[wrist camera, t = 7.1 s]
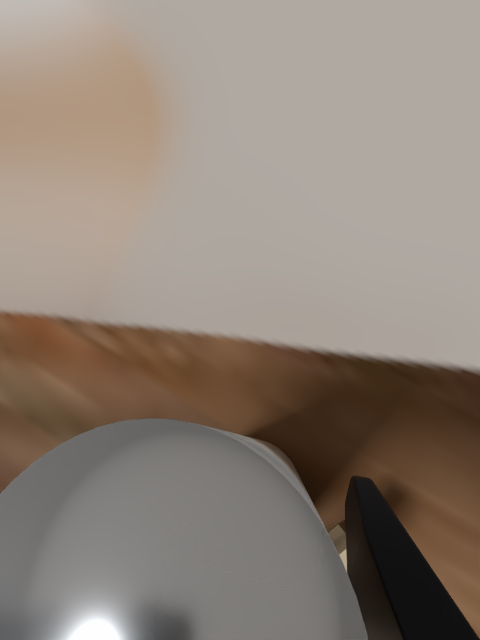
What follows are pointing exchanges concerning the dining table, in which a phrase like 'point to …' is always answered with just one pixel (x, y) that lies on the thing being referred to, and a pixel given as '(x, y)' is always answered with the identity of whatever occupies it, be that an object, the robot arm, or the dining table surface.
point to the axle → (168, 542)
